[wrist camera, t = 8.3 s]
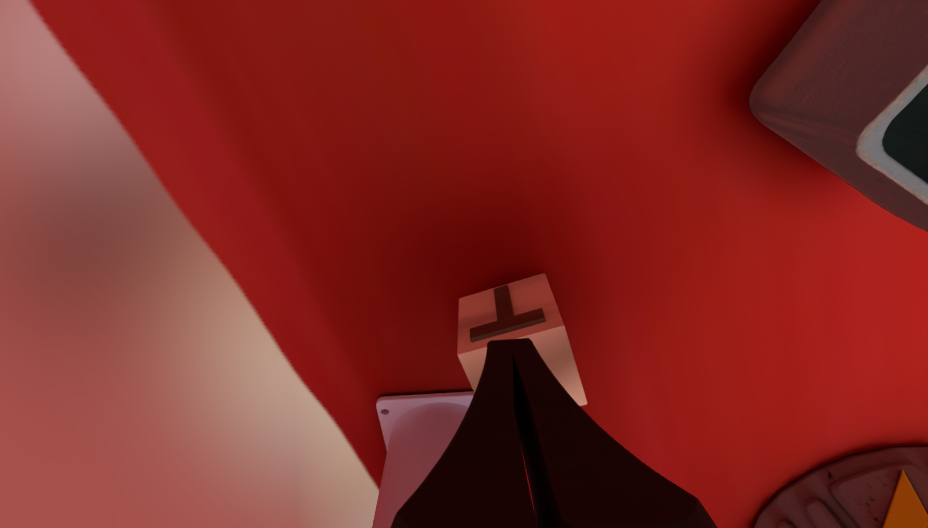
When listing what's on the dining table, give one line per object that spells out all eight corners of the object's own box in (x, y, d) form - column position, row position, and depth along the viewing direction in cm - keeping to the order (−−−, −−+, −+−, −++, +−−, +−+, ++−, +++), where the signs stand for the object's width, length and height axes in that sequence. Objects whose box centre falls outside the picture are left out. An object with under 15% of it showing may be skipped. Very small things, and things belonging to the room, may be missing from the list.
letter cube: (565, 341, 24) (587, 403, 20) (486, 362, 25) (490, 427, 21) (543, 268, 22) (562, 320, 18) (457, 294, 23) (455, 351, 18)
